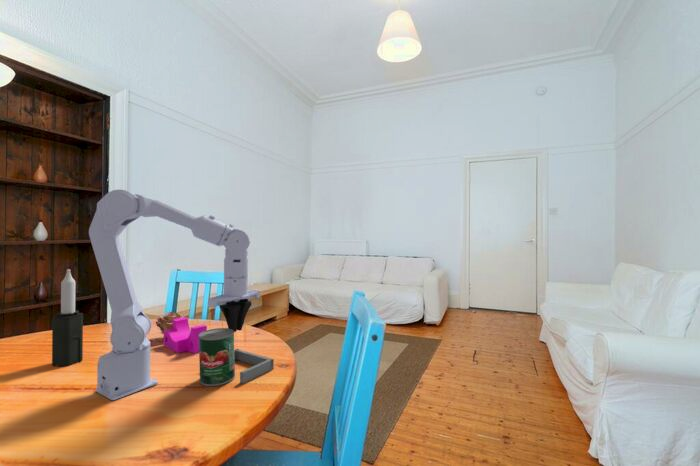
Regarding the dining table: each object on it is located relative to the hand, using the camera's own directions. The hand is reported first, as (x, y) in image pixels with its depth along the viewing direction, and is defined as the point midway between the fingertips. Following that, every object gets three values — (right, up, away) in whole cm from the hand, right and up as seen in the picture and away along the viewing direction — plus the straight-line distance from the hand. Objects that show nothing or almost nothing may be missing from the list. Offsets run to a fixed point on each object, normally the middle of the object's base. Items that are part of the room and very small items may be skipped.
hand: (235, 330), depth 84 cm
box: (0, -10, +1) cm, 10 cm away
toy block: (-21, -11, +17) cm, 30 cm away
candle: (-46, -10, +5) cm, 48 cm away
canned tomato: (-3, -10, -4) cm, 12 cm away
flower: (-31, -10, +27) cm, 42 cm away
